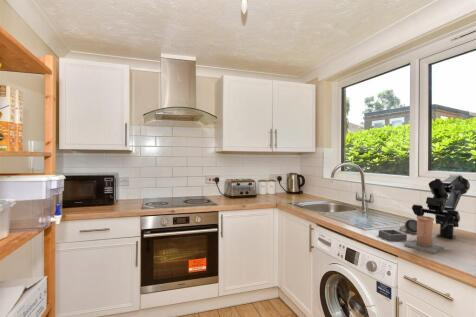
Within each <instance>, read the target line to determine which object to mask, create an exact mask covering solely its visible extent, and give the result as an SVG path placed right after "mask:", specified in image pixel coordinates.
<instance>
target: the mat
mask: <svg viewBox="0 0 476 317" xmlns="http://www.w3.org/2000/svg"><path fill="white" fill-rule="evenodd" d="M403 246H404V247H406V248H409V249H414V250H418V251H421V252H425V253H429V254H433V255H437V253H439V252H441V251H443V250H444V249H445V246H442V245H438V244H434V243H432V247H422V246H419V245H417V239H412V240H410V241H409V242H406V243H404V245H403Z"/></svg>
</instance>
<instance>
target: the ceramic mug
mask: <svg viewBox="0 0 476 317" xmlns="http://www.w3.org/2000/svg"><path fill="white" fill-rule="evenodd" d="M399 228H400V230H406V231H407V232H408V233H411V234H417V217H415V218H414V217H413V218H409V219H407V220H406V221H405V223H404V225H401V226H399Z"/></svg>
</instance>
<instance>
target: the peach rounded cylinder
mask: <svg viewBox="0 0 476 317" xmlns="http://www.w3.org/2000/svg"><path fill="white" fill-rule="evenodd" d="M416 219H417V233H416V240H417V245H419V246H422V247H432V244H433V235H434V234H433V233H434V230H433V229H434V227H433V226H434V220H435V217H434V218H433V217H432V216H431V217H430V216H425V215H423V216H417V215H416Z"/></svg>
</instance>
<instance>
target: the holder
mask: <svg viewBox="0 0 476 317" xmlns="http://www.w3.org/2000/svg"><path fill="white" fill-rule="evenodd" d="M378 236H379V237H381V238H383V239H385V240H386V241H387V240H388V241H390V242H402V241H403V242H406V241H407V240H408V234H406V233H404V232H402V231H399V230H396V229H378Z"/></svg>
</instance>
